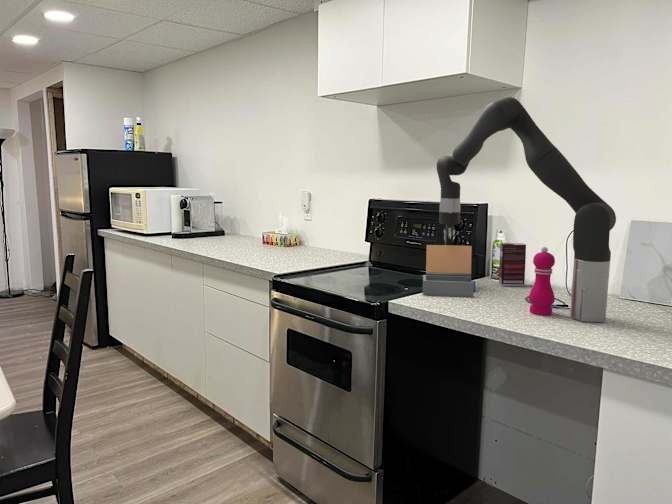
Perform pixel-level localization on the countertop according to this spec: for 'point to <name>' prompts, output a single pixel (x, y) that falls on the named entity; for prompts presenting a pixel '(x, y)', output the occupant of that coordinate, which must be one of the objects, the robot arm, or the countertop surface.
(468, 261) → the cover
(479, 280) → the countertop surface
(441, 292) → the grey open box
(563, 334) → the countertop surface
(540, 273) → the pepper mill
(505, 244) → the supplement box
